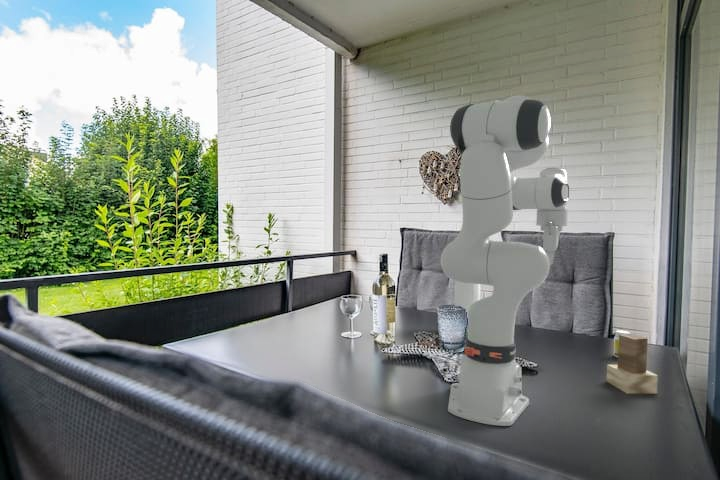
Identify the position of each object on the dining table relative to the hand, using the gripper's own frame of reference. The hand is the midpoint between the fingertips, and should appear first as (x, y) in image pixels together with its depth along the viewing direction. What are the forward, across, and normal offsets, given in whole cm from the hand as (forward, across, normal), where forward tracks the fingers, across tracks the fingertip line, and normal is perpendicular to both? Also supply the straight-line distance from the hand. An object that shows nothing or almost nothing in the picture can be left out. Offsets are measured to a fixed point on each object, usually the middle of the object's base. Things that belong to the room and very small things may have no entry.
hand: (550, 263), depth 127 cm
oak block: (+31, -13, -21) cm, 40 cm away
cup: (+31, +20, +30) cm, 48 cm away
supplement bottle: (+31, +16, -22) cm, 41 cm away
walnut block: (+26, -13, -21) cm, 36 cm away
